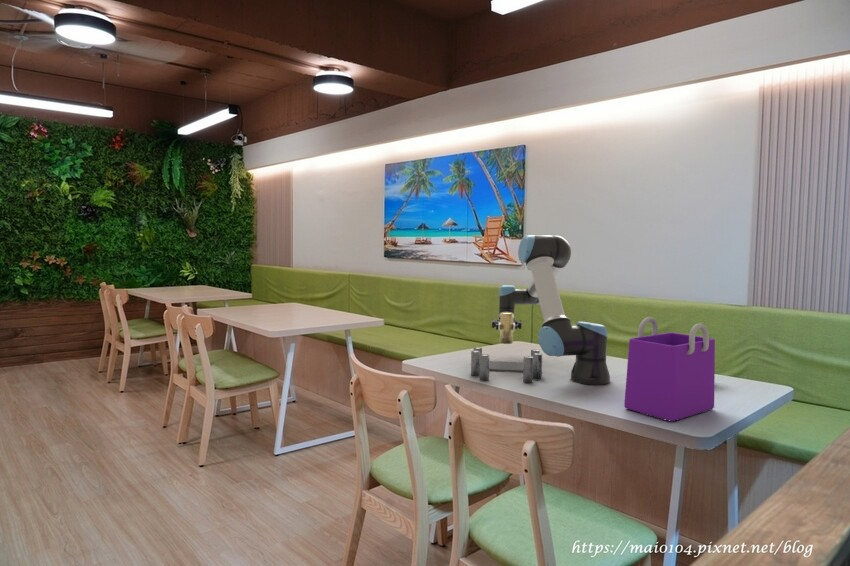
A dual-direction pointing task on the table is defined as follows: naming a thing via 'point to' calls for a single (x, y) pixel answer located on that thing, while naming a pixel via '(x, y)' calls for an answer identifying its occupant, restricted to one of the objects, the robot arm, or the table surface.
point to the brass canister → (506, 328)
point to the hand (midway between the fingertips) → (506, 328)
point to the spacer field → (530, 367)
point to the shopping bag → (670, 373)
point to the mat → (506, 366)
